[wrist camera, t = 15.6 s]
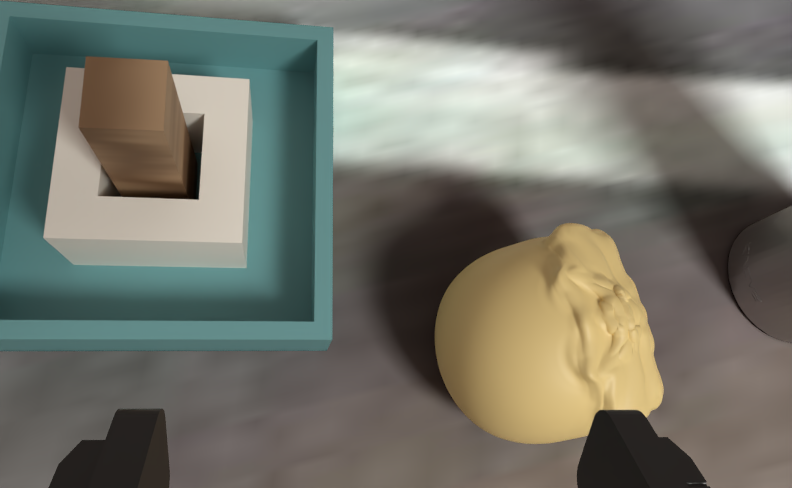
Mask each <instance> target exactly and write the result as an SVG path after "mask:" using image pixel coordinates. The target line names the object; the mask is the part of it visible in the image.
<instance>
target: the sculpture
mask: <svg viewBox="0 0 792 488" xmlns="http://www.w3.org/2000/svg"><path fill="white" fill-rule="evenodd" d="M435 351H436V357H437V362H438V366H439V370H440V373H441V376H442V379H443V381H444V383H445V386H446V388H447V390H448V392H449V393H450V395H451V397H452V398H453V400H454V401H455V403H456V404H457V406H458V407H459V408H460V409H461V411H462V412H463V413H464V414H465V415H466V416H467V417H468V418H469V419H470V420H471V421H472V422H473V423H475V424H476V425H477V426H479V427H480V428H481V429H483V430H485V431H486V432H488V433H490V434H492V435H494V436H497V437H499V438H502V439H505V440H509V441H513V442H518V443H527V444H545V443H553V442H559V441H564V440H569V439H574V438H579V437H583V436H588V434H589V431H590V428H591V425H592V422H593V419H594V416H595V414H596V413H597V412H598V411H599V410H639V411H641V412H642V413H643V414H644V415H645V417H647V416H648V415H649V414H650V411H651V410H654V409H656V408H657V407H658V406H659V405H660V403H661V401H662V397H663V384H662V380H661V377H660V374H659V371H658V369H657V366H656V362H655V359H654V355H653V353H654V339H653V336H652V333H651V330H650V327H649V325H648V322H647V313H646V310H645V308H644V306H643V305H642V304H641V302H640V299H639V295H638V292H637V289H636V286H635V284H634V282H633V281H632V279H631V278H630V277H629V276H628V275H627V274H626V272H625V270H624V267H623V265H622V262H621V260H620V256H619V253H618V250H617V247H616V245H615V243H614V241H613V239H612V238H611V237H610V236H609V235H607V234H606V233H605V232H603V231H601V230H599V229H590V228H589V227H587V226H584V225H581V224H575V223H566V224H562V225H560V226H558V227H557V228H556V229H555V230H554V231H553V233H552V234H551V235H550V236H549V237H540V238H535V239H530V240H526V241H523V242H519V243H516V244H513V245H510V246H507V247H504V248H500V249H498V250H495V251H493V252H490V253H488V254H486V255H484V256H482V257H480V258H479V259H477V260H475V261H474V262H472V263H471V264H470V265H468V266H467V267H466V268H465V269H464V270H462V271H461V272H460V273H459V274H458V275H457V276H456V278H455V279H454V280H453V281H452V283H451V284H450V285H449V287H448V288H447V290H446V292H445V294H444V296H443V298H442V300H441V303H440V306H439V309H438V313H437V318H436V324H435Z"/></svg>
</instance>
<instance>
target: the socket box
mask: <svg viewBox="0 0 792 488" xmlns="http://www.w3.org/2000/svg"><path fill="white" fill-rule="evenodd" d="M86 56H90V57H109V58H127V59H146V60H164V61H168V63H169V66H170V70H171V73H172V77H173V80H174V84H175V87H176V90H177V94H178V97H179V101H180V104H181V108H182V111H183V115H184V118H185V122H186V125H187V129H188V132H189V136H190V139H191V143H192V146H193V150H194V153H195V157H196V160H197V164H198V165H197V186H196V200H193V199H165V198H137V197H122V196H121V194H120V193H119V191H118V190H117V188H116V187H115V185H114V183H113V182H112V180H111V179H110V177H109V175H108V174H107V172H106V171H105V169H104V167H103V166H102V164H101V163H100V161H99V160H98V158H97V156H96V155H95V153H94V152H93V150H92V148H91V147H90V145H89V144H88V142H87V140H86V139H85V137H84V136H83V134H82V133H81V131H80V129H79V128H78V126H79V117H80V107H81V98H82V88H83V79H84V69H85V59H86ZM332 259H333V27H320V26H308V25H295V24H283V23H271V22H258V21H246V20H233V19H221V18H209V17H196V16H184V15H172V14H159V13H147V12H134V11H122V10H110V9H97V8H85V7H73V6H60V5H48V4H35V3H23V2H11V1H0V351H327V349H328V347H329V345H330V343H331V341H332Z"/></svg>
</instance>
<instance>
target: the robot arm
mask: <svg viewBox="0 0 792 488" xmlns="http://www.w3.org/2000/svg"><path fill="white" fill-rule="evenodd" d="M728 273H729V281H730V285H731V288H732V292H733V294H734V296H735V298H736V300H737V303H738V305H739V306H740V308H741V309H742V310H743V312H744V313H745V315H746V316H747V317H748V318H749V319H750V320H751V321H752V322H753V323H754V324H755V325H756V326H757V327H758V328H759V329H761V330H762V331H764V332H765V333H766V334H768V335H770V336H772V337H774V338H776V339H779V340H781V341H785V342H790V343H792V206H790V207H788V208H785V209H783V210H781V211H779V212H777V213H775V214H773V215H771V216H769V217H766V218H764V219H762V220H760V221H758V222H756V223H754V224H752V225H750V226H748V227H747V228H745V229H744V230H743V231H742V232H741V233H740V234H739V235H738V237H737V238H736V240H735V241H734V243H733V245H732V248H731V251H730V253H729V261H728ZM169 480H170V470H169V457H168V445H167V433H166V421H165V413H164V410H163V409H118V410H117V411H116V413H115V415H114V418H113V421H112V423H111V426H110V429H109V432H108V434H107V437H106V440H82V441H81V442H80V443H79V444H78V445H77V446H76V447H75V448H74V449H73V450H72V451H71V452H70V453H69V454H68V455H67V456H66V457H65V458H64V459H63V460H62V461H61V462H60V463H59V465H58V467H57V469H56V472H55V474H54V476H53V479H52V481H51V483H50V486H49V488H169ZM577 485H578V488H710V486H707V485H706V480H705V479H704V477H703V476H702V474H701V473H700V471H699V469H698V468H697V466H696V465H695V463H694V462H693V460H692V459H691V458H690V457H689V456H688V455H687V454H686V453H685V452H684V451H682V450H681V449H680V448H679V447H678V446H677V445H676V444H674V443H673V442H672V441H671V440H670V439H669V438H668V437H658V436H657V434H656V433H655V431H654V430H653V428H652V426H651V425H650V423H649V421H648V420H647V418H646V417H645V415H644V414H643V413H642V412H641V411H639V410H599V411H598V412H597V413H596V414H595V416H594V419H593V422H592V425H591V428H590V431H589V434H588V437H587V440H586V443H585V446H584V449H583V452H582V455H581V458H580V461H579V465H578V470H577Z"/></svg>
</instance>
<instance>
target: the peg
mask: <svg viewBox="0 0 792 488" xmlns="http://www.w3.org/2000/svg"><path fill="white" fill-rule="evenodd" d="M78 128H79V129H80V131H81V133H82V134H83V136H84V137H85V139H86V140H87V142H88V144H89V145H90V147H91V148H92V150H93V152H94V153H95V155H96V156H97V158H98V160H99V161H100V163H101V164H102V166H103V167H104V169H105V171H106V172H107V174H108V175H109V177H110V179H111V180H112V182H113V183H114V185H115V187H116V188H117V190H118V191H119V193H120V194H121V196H122V197H137V198H165V199H193V200H196V186H197V165H198V164H197V160H196V157H195V153H194V150H193V146H192V143H191V139H190V136H189V132H188V129H187V125H186V122H185V118H184V115H183V111H182V108H181V104H180V101H179V97H178V94H177V90H176V87H175V84H174V80H173V77H172V73H171V70H170V66H169V63H168V61H164V60H146V59H127V58H109V57H90V56H86V59H85V69H84V79H83V88H82V98H81V107H80V117H79V126H78Z"/></svg>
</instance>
